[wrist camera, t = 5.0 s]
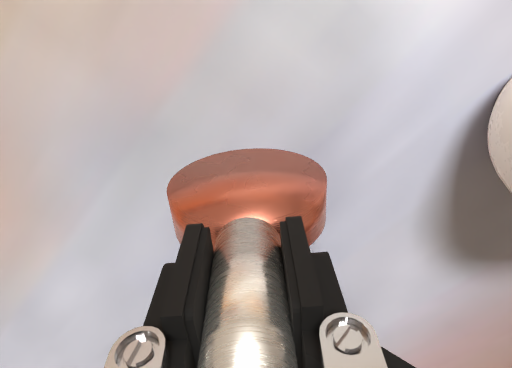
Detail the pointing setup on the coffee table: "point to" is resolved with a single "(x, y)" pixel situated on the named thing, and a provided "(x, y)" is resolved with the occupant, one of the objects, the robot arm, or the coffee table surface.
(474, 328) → the coffee table surface
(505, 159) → the lidded jar
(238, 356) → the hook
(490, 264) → the coffee table surface
